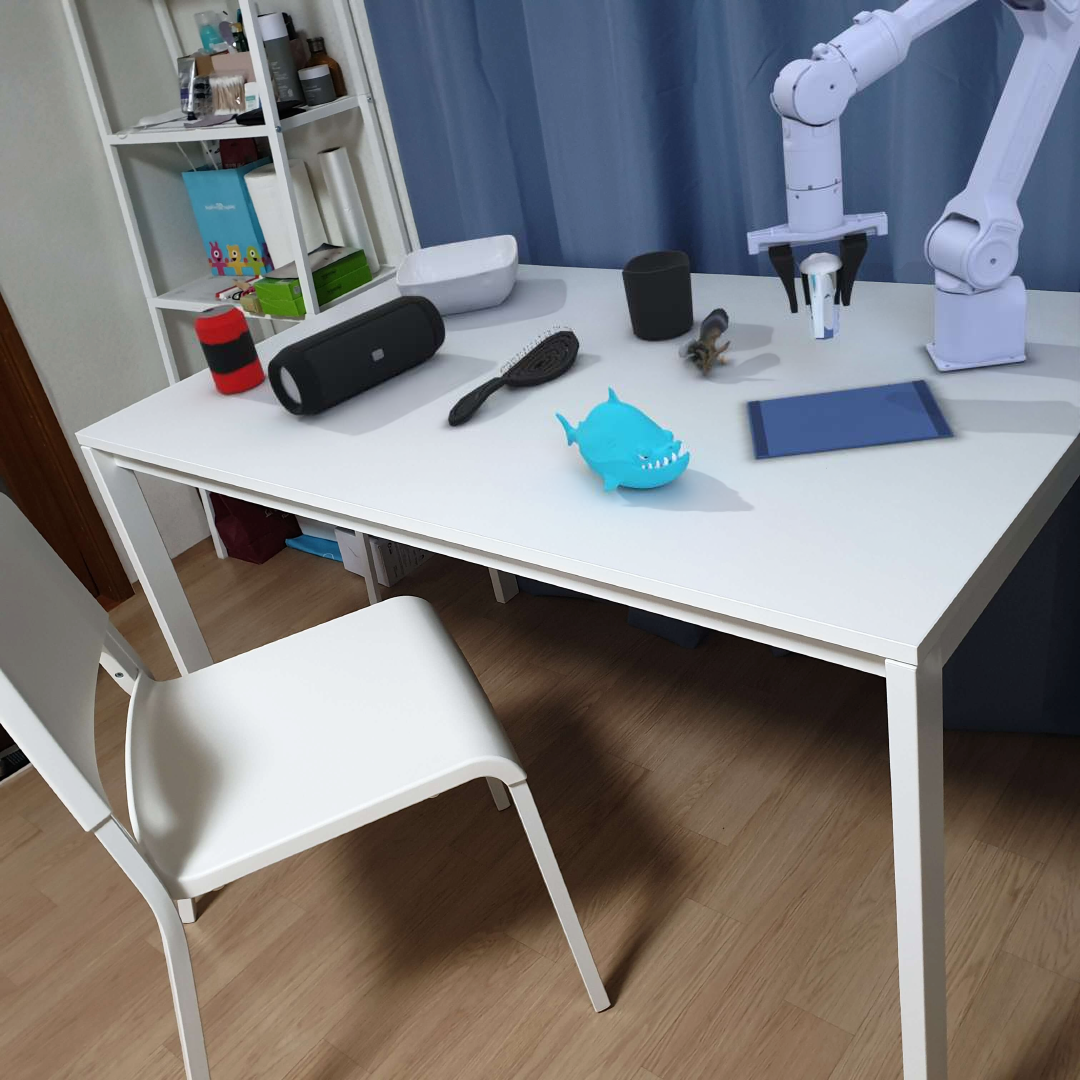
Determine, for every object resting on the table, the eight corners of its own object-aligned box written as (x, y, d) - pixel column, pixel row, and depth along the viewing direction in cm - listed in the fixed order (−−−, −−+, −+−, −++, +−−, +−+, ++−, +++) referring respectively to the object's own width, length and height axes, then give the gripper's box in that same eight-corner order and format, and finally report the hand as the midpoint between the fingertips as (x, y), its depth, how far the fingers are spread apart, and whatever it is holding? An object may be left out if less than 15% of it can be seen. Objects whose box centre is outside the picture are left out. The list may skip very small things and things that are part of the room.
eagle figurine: (750, 362, 130) (743, 325, 137) (714, 325, 127) (709, 289, 134) (701, 397, 134) (697, 359, 141) (666, 362, 131) (663, 325, 138)
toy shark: (660, 518, 104) (646, 421, 99) (535, 480, 116) (516, 392, 111) (719, 475, 109) (708, 380, 104) (593, 444, 121) (578, 357, 116)
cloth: (924, 382, 119) (924, 379, 119) (953, 436, 107) (953, 433, 107) (747, 404, 123) (747, 401, 123) (755, 458, 111) (755, 456, 111)
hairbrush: (424, 402, 135) (544, 322, 149) (431, 427, 137) (550, 346, 151) (469, 410, 130) (590, 327, 144) (476, 436, 132) (595, 351, 146)
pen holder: (710, 324, 148) (703, 255, 143) (659, 347, 144) (650, 276, 139) (667, 313, 155) (659, 247, 150) (617, 335, 151) (607, 267, 146)
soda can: (244, 373, 168) (219, 301, 162) (275, 376, 163) (250, 303, 157) (208, 392, 163) (180, 319, 157) (238, 396, 158) (212, 321, 152)
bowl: (523, 309, 169) (514, 263, 166) (401, 330, 171) (389, 285, 168) (526, 272, 187) (518, 229, 183) (415, 292, 189) (405, 251, 185)
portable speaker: (314, 427, 142) (292, 359, 137) (277, 414, 149) (255, 349, 144) (455, 357, 155) (440, 293, 150) (416, 349, 162) (400, 286, 157)
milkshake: (792, 333, 121) (785, 248, 116) (837, 324, 120) (833, 238, 115) (803, 346, 117) (797, 259, 112) (850, 337, 116) (847, 248, 111)
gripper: (879, 163, 112) (881, 285, 119) (742, 185, 115) (752, 303, 122) (890, 178, 106) (892, 306, 113) (745, 201, 109) (755, 325, 116)
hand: (820, 306), depth 117 cm, fingers closed on milkshake, 5 cm apart
